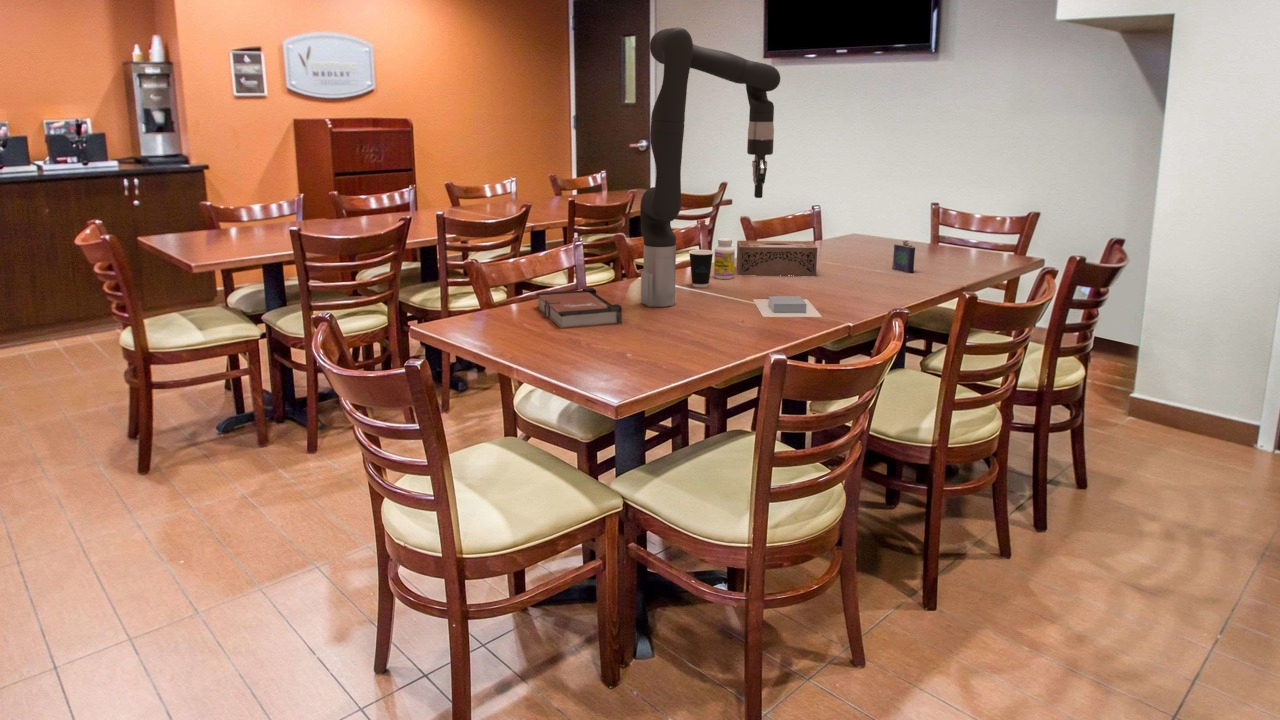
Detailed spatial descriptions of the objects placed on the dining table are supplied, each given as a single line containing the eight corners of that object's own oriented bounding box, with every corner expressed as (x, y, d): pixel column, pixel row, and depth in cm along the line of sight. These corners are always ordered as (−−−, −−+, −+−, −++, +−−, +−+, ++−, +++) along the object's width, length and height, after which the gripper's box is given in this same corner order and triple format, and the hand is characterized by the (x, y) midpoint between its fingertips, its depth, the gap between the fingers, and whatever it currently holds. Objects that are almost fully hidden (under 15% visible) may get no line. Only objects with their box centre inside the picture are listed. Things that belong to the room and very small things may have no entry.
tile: (768, 296, 255) (773, 303, 245) (800, 296, 255) (806, 303, 245) (768, 304, 255) (773, 312, 246) (799, 304, 255) (806, 312, 246)
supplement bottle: (710, 278, 296) (711, 239, 292) (718, 275, 302) (719, 237, 298) (729, 280, 293) (730, 241, 289) (736, 276, 299) (738, 238, 295)
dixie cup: (701, 282, 289) (701, 248, 286) (718, 286, 284) (719, 251, 280) (682, 285, 285) (683, 251, 282) (699, 289, 279) (700, 254, 276)
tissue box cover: (738, 276, 301) (739, 247, 298) (736, 268, 315) (737, 240, 312) (815, 277, 300) (817, 247, 297) (810, 269, 314) (811, 241, 311)
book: (534, 309, 254) (533, 291, 253) (593, 304, 260) (592, 287, 259) (557, 330, 231) (557, 311, 229) (621, 325, 236) (621, 306, 235)
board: (752, 301, 262) (752, 299, 262) (806, 301, 263) (807, 299, 262) (763, 318, 241) (763, 316, 241) (822, 318, 241) (822, 316, 241)
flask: (890, 269, 313) (893, 238, 310) (896, 268, 314) (899, 238, 311) (909, 273, 305) (912, 242, 302) (915, 272, 307) (918, 241, 304)
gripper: (745, 136, 267) (743, 195, 272) (750, 138, 254) (748, 200, 259) (770, 136, 267) (767, 195, 272) (776, 138, 254) (774, 200, 259)
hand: (758, 197), depth 265 cm, fingers closed
